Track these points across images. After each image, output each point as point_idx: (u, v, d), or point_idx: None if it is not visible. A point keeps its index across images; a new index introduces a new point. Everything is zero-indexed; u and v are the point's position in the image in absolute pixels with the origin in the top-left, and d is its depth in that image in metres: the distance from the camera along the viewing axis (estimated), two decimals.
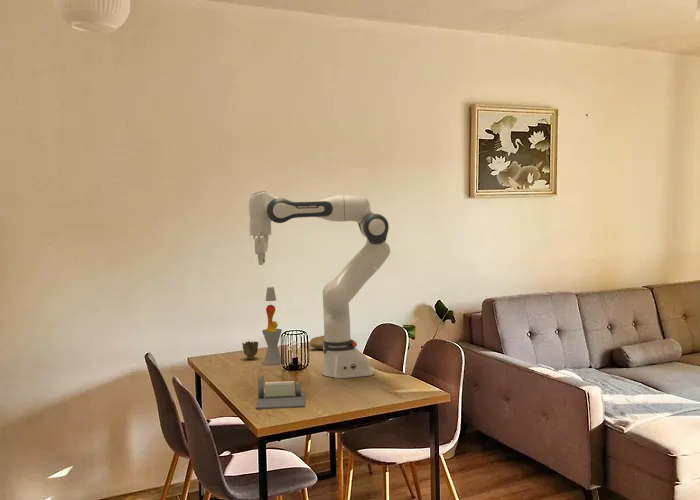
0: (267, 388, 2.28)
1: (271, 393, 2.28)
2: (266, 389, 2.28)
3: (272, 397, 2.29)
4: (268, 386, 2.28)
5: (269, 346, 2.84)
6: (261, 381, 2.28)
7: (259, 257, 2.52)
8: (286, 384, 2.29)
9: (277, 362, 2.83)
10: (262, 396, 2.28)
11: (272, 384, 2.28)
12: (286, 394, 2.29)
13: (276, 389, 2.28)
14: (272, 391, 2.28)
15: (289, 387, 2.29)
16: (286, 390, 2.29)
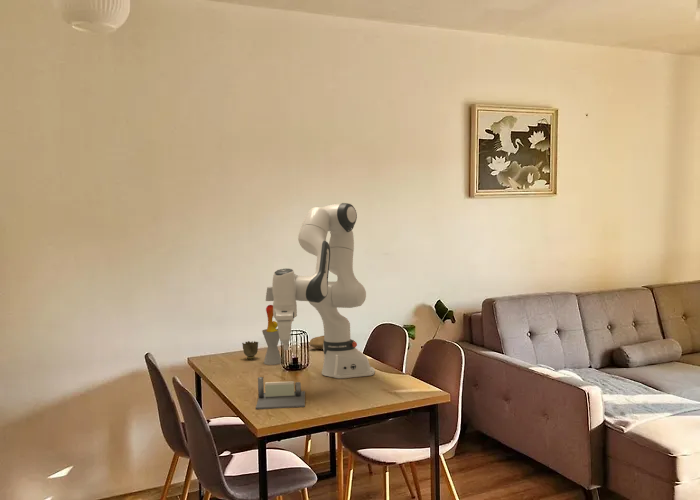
0: (267, 388, 2.28)
1: (271, 393, 2.28)
2: (266, 389, 2.28)
3: (272, 397, 2.29)
4: (268, 386, 2.28)
5: (269, 346, 2.84)
6: (261, 381, 2.28)
7: None
8: (286, 384, 2.29)
9: (277, 362, 2.83)
10: (262, 396, 2.28)
11: (272, 384, 2.28)
12: (286, 394, 2.29)
13: (276, 389, 2.28)
14: (272, 391, 2.28)
15: (289, 387, 2.29)
16: (286, 390, 2.29)
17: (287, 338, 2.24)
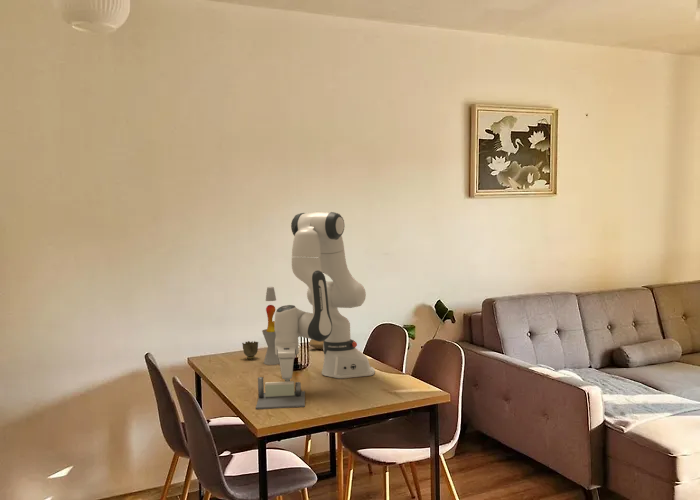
0: (267, 388, 2.28)
1: (271, 393, 2.28)
2: (266, 389, 2.28)
3: (272, 397, 2.29)
4: (268, 386, 2.28)
5: (269, 346, 2.84)
6: (261, 381, 2.28)
7: None
8: (286, 384, 2.29)
9: (277, 362, 2.83)
10: (262, 396, 2.28)
11: (272, 384, 2.28)
12: (286, 394, 2.29)
13: (276, 389, 2.28)
14: (272, 391, 2.28)
15: (289, 387, 2.29)
16: (286, 390, 2.29)
17: (289, 376, 2.24)
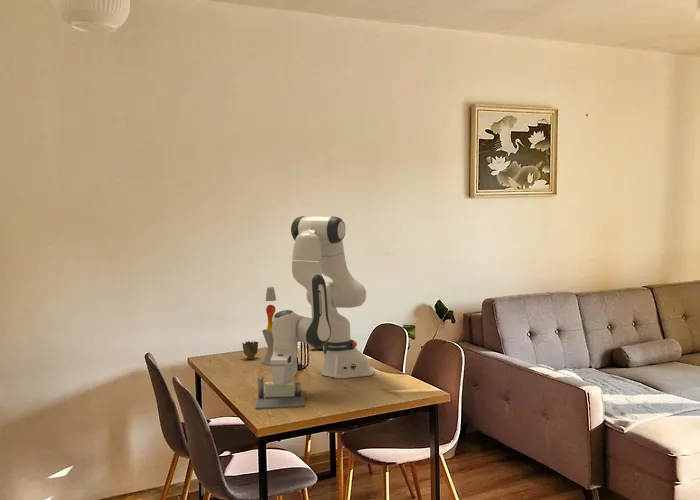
0: (267, 388, 2.28)
1: (271, 393, 2.28)
2: (266, 389, 2.28)
3: (272, 397, 2.29)
4: (268, 386, 2.28)
5: (269, 346, 2.84)
6: (261, 381, 2.28)
7: None
8: (286, 385, 2.28)
9: None
10: (262, 396, 2.28)
11: (272, 384, 2.28)
12: (286, 395, 2.28)
13: (276, 389, 2.28)
14: (271, 392, 2.28)
15: (289, 388, 2.28)
16: (286, 391, 2.28)
17: (280, 383, 2.21)
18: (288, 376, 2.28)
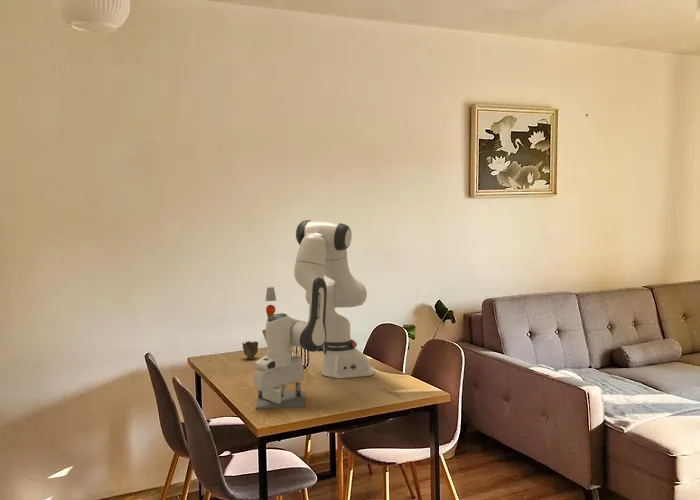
0: None
1: (265, 395, 2.25)
2: None
3: None
4: None
5: None
6: None
7: None
8: (273, 390, 2.21)
9: None
10: None
11: None
12: (273, 400, 2.21)
13: (267, 393, 2.24)
14: (265, 394, 2.25)
15: (275, 394, 2.20)
16: (273, 396, 2.21)
17: (258, 388, 2.16)
18: (277, 382, 2.21)
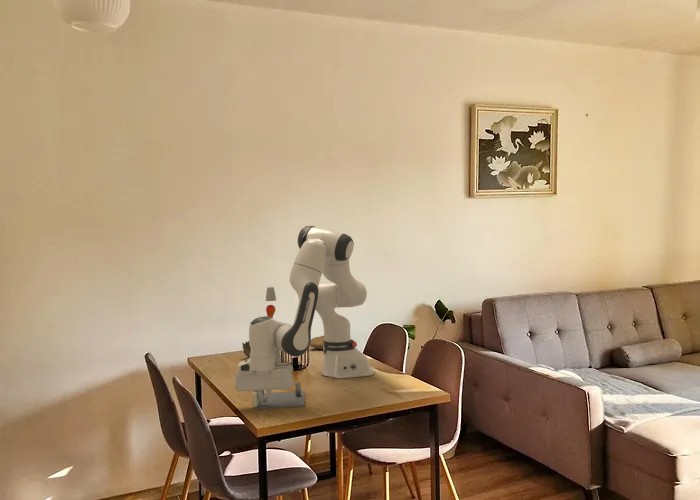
0: None
1: None
2: None
3: (272, 397, 2.29)
4: None
5: None
6: None
7: None
8: None
9: (277, 362, 2.83)
10: None
11: None
12: None
13: None
14: None
15: None
16: None
17: (235, 388, 2.18)
18: (256, 386, 2.17)
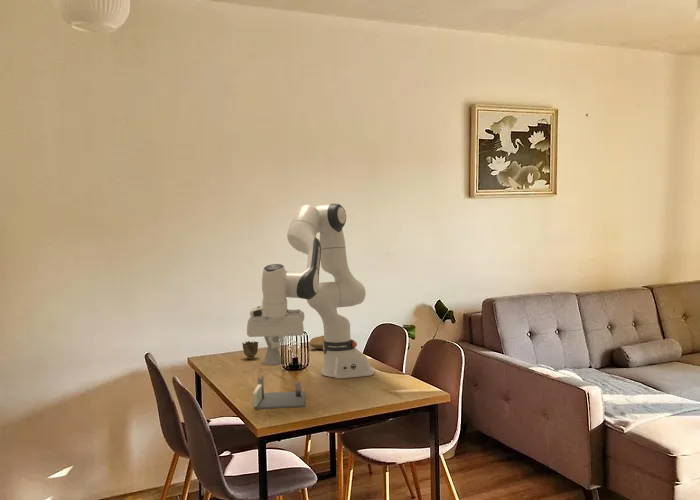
0: None
1: None
2: None
3: (272, 397, 2.29)
4: None
5: (269, 346, 2.84)
6: (261, 381, 2.28)
7: None
8: None
9: (277, 362, 2.83)
10: (262, 396, 2.28)
11: None
12: None
13: None
14: None
15: None
16: None
17: (247, 333, 2.21)
18: (268, 331, 2.21)
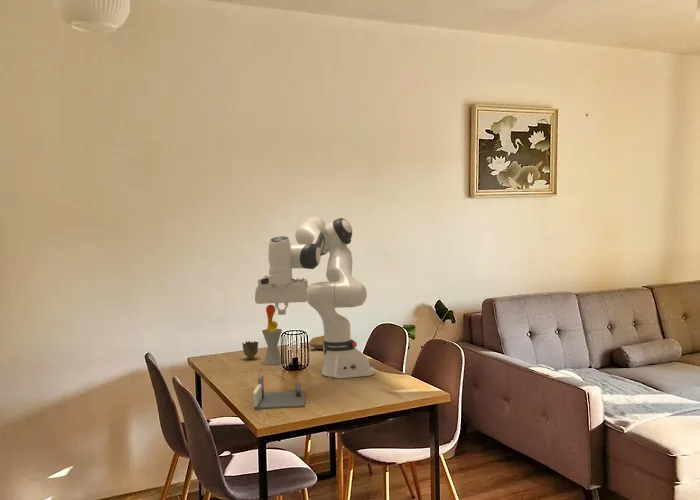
0: None
1: None
2: None
3: (272, 397, 2.29)
4: None
5: (269, 346, 2.84)
6: (261, 381, 2.28)
7: (287, 306, 2.40)
8: None
9: (277, 362, 2.83)
10: (262, 396, 2.28)
11: None
12: None
13: None
14: None
15: None
16: None
17: (255, 300, 2.39)
18: (274, 298, 2.38)
